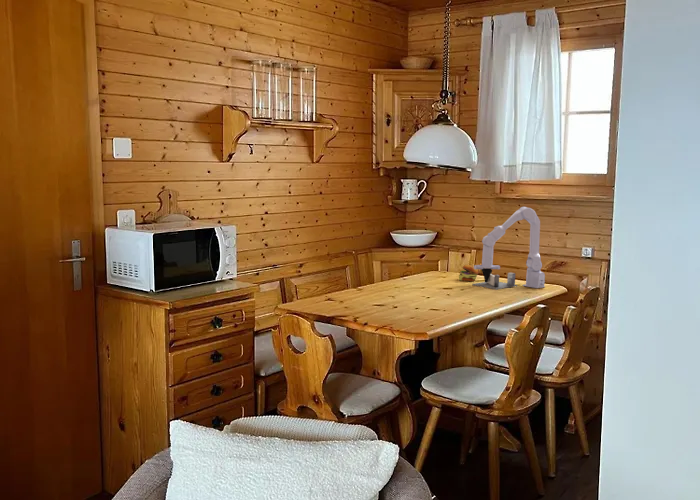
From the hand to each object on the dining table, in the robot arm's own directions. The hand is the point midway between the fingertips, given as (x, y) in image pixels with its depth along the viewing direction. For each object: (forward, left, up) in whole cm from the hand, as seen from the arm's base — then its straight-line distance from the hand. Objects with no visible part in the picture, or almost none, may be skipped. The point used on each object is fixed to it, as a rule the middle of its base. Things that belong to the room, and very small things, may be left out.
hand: (486, 282), depth 383 cm
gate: (-3, -1, -1) cm, 3 cm away
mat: (-4, -3, -2) cm, 5 cm away
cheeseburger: (+15, -4, -2) cm, 16 cm away
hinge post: (-9, +2, -2) cm, 9 cm away
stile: (-10, -9, -1) cm, 13 cm away
